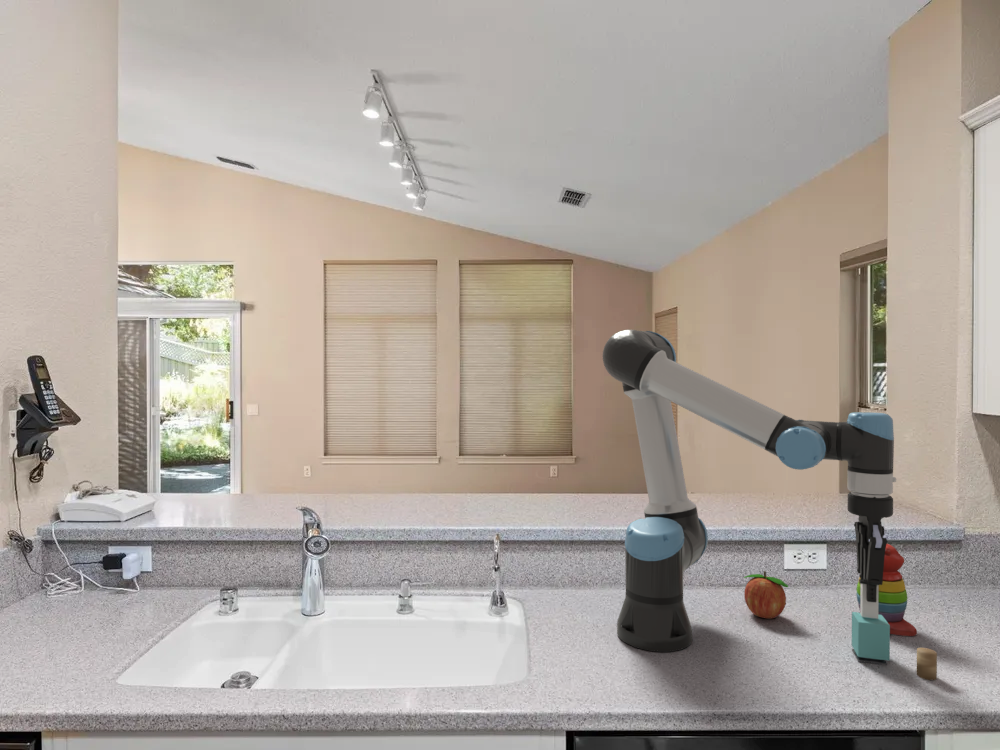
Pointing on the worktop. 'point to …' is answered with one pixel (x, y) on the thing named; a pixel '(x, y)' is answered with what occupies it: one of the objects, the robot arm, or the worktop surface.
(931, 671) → the oak stub
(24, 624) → the worktop surface
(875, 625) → the teal rectangular prism
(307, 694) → the worktop surface
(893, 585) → the stacking bear
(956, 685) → the worktop surface
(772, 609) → the fruit
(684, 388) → the robot arm
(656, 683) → the worktop surface
